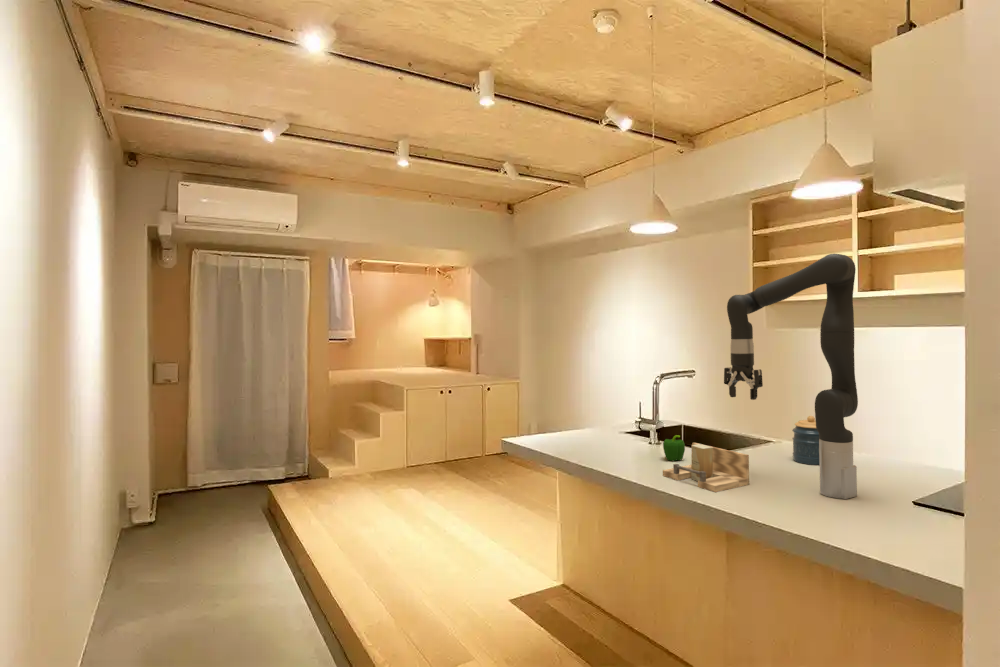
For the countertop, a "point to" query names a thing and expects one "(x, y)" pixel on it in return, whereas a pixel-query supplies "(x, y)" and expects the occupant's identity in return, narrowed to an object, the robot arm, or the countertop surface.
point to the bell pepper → (674, 448)
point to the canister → (806, 442)
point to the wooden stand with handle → (717, 471)
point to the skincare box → (702, 461)
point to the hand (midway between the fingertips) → (743, 398)
